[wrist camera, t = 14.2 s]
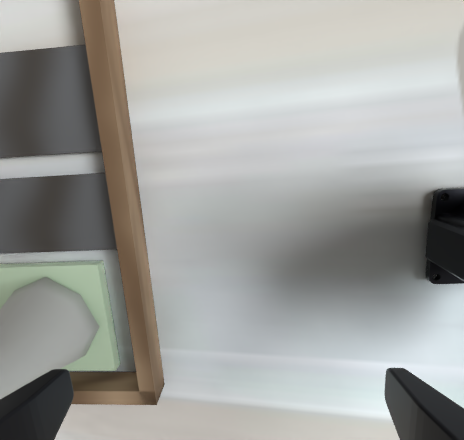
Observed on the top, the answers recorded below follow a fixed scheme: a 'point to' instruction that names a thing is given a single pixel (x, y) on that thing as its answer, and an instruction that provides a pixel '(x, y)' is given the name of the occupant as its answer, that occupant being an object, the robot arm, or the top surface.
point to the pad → (91, 290)
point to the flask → (42, 332)
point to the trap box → (81, 182)
